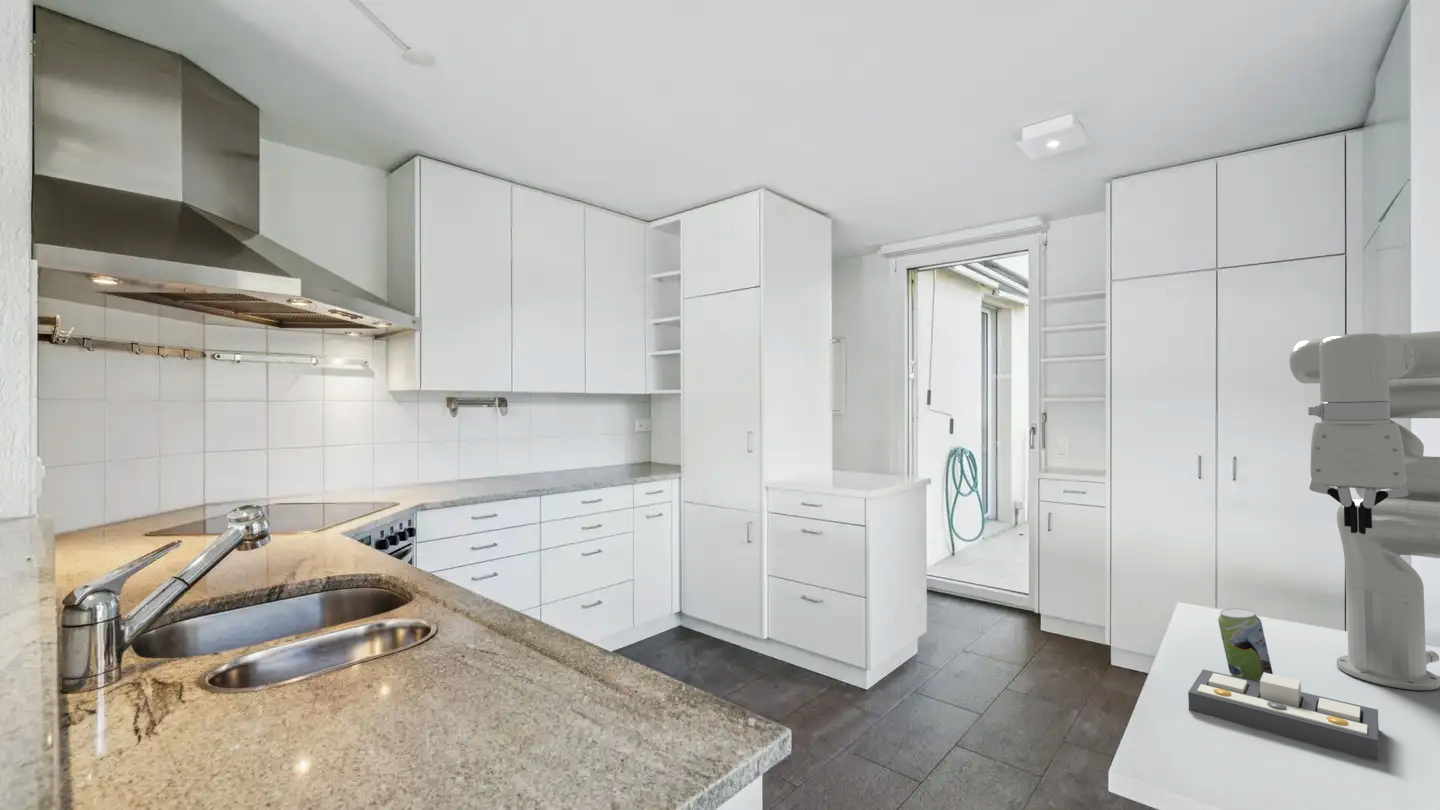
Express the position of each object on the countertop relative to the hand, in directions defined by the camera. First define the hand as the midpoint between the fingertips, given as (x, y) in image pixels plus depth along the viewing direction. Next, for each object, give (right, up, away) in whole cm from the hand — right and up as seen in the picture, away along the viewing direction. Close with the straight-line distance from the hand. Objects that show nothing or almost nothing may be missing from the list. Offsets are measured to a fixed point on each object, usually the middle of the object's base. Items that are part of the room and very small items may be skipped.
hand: (1358, 531), depth 96 cm
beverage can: (-5, -30, +15) cm, 33 cm away
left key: (-15, -29, +6) cm, 33 cm away
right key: (-6, -29, -3) cm, 29 cm away
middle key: (-11, -27, +2) cm, 29 cm away
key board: (-12, -29, +1) cm, 32 cm away
